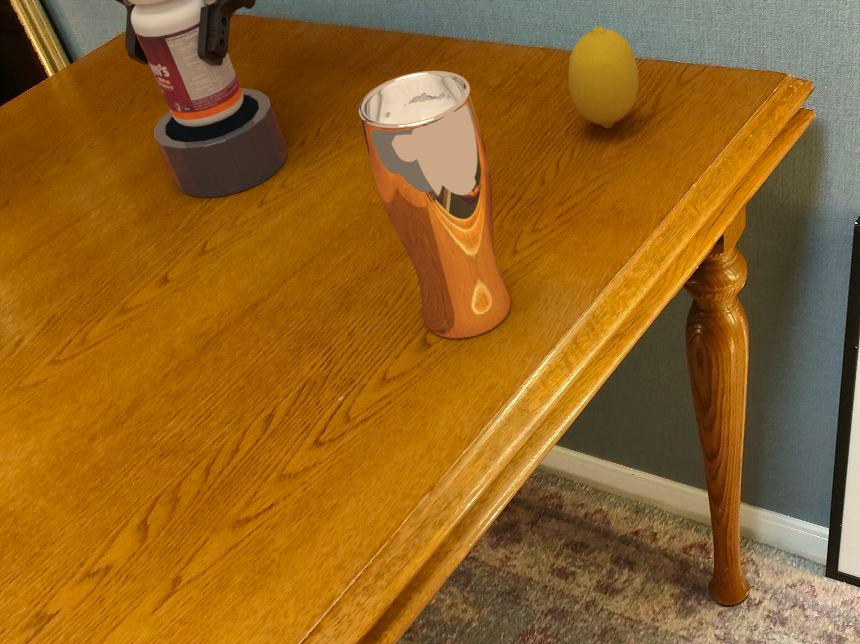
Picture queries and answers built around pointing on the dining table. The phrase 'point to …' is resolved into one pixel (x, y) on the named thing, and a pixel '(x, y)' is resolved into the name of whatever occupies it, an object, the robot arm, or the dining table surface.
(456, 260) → the beer glass
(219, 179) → the holder
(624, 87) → the lemon
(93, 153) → the dining table surface
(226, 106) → the pill bottle
